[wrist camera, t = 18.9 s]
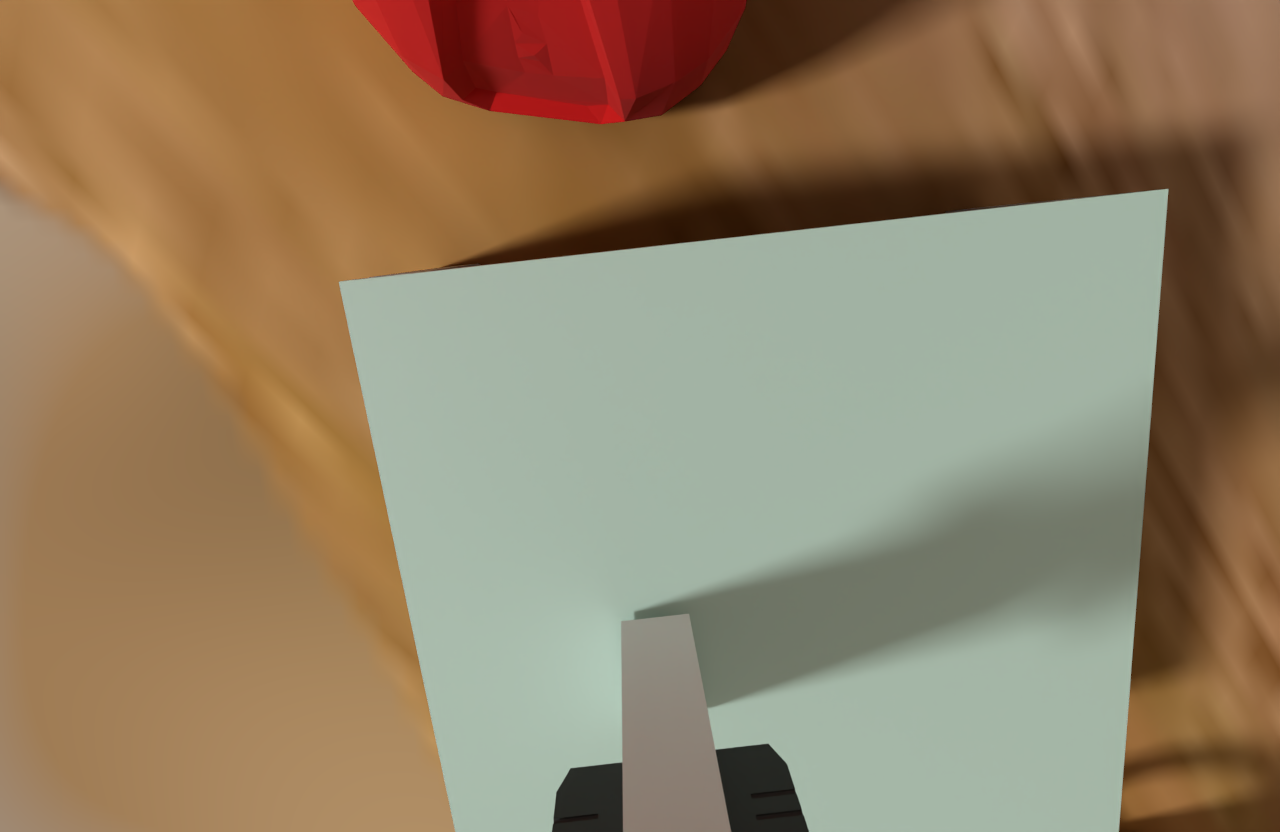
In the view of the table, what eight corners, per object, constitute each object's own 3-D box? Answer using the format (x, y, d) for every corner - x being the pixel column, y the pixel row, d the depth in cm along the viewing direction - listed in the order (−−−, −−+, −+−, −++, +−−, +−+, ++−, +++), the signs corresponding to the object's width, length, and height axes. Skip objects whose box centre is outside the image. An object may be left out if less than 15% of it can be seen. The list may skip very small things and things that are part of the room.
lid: (355, 279, 14) (338, 281, 13) (1129, 192, 15) (1168, 188, 14) (496, 965, 18) (492, 1005, 17) (1086, 866, 19) (1113, 898, 18)
